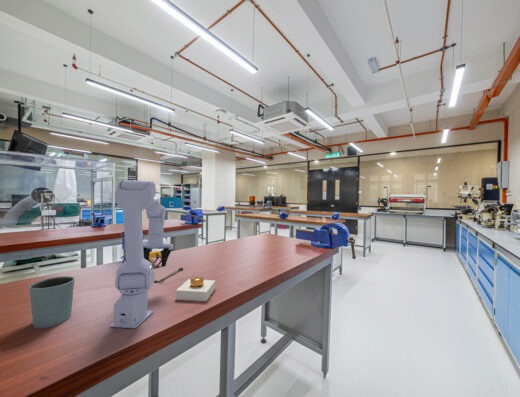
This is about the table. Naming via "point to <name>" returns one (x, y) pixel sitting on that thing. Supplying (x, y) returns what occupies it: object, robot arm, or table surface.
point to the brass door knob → (196, 282)
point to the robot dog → (155, 254)
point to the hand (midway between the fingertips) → (155, 265)
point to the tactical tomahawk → (168, 276)
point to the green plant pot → (51, 301)
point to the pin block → (195, 291)
